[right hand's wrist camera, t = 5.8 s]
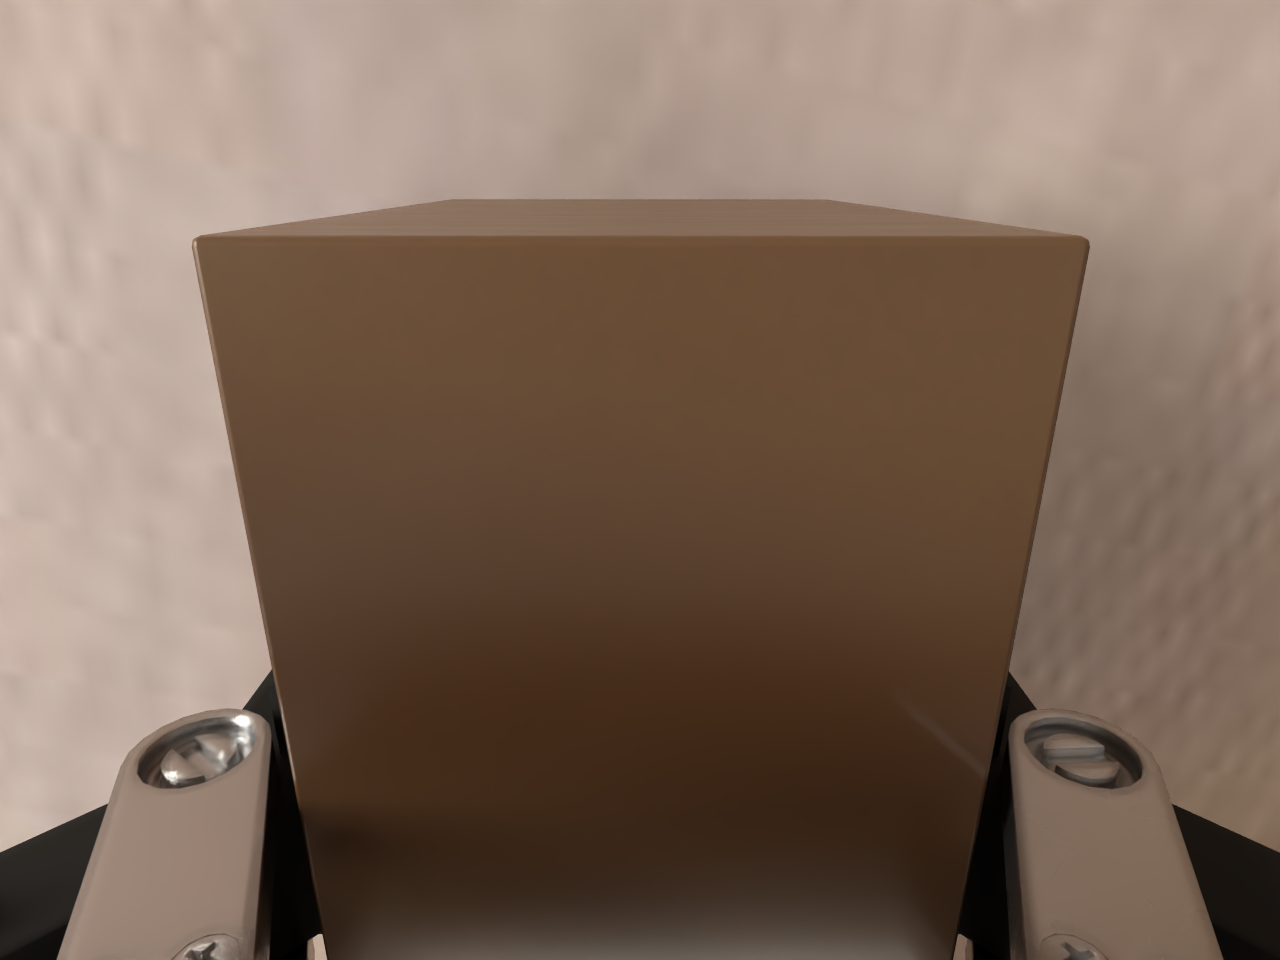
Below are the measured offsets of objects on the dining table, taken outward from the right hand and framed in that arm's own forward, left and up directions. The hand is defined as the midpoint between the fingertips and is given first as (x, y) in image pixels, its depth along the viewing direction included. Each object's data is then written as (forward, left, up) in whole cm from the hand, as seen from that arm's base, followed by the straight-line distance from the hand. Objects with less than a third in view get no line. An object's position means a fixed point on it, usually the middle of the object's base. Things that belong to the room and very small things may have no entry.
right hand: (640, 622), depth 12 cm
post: (+27, -6, -3) cm, 27 cm away
